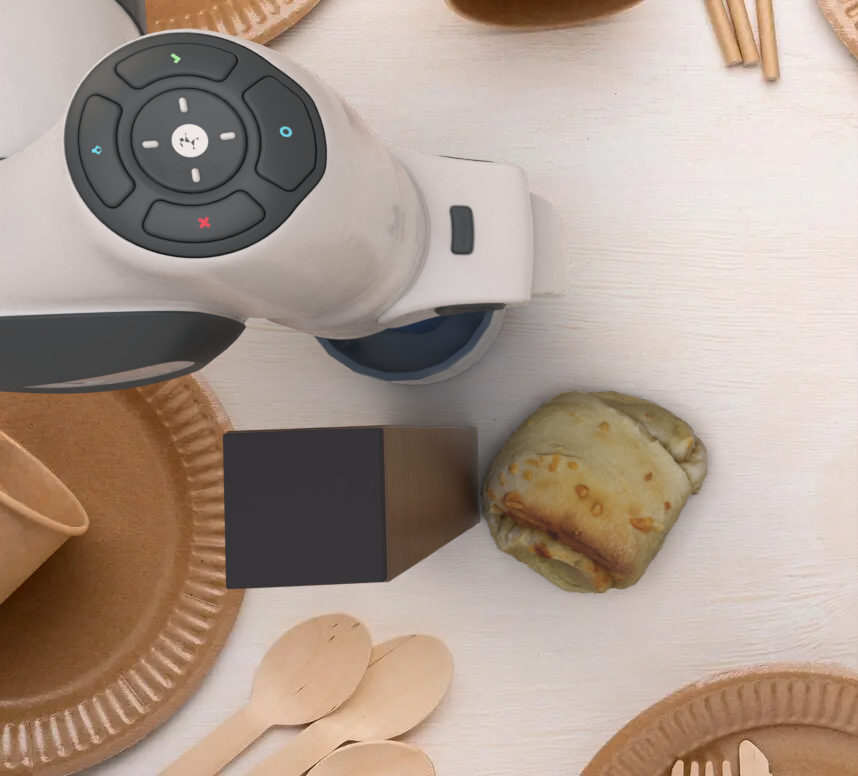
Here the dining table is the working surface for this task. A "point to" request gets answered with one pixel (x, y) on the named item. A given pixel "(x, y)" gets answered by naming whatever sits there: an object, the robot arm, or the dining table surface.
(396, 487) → the pedestal
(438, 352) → the bowl
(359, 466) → the mat
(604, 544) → the pastry
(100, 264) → the robot arm
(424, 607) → the dining table surface
